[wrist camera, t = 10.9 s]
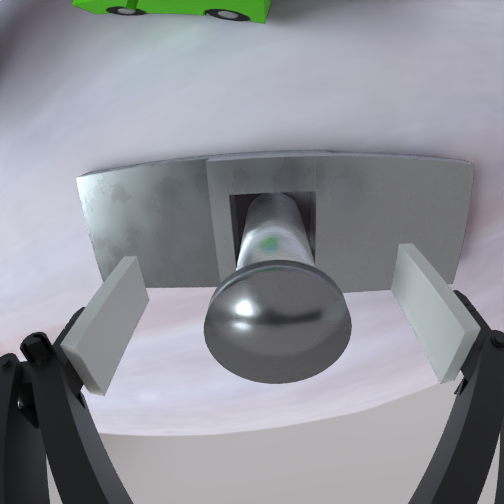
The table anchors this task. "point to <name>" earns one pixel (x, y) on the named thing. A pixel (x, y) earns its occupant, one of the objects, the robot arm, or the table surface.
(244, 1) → the toy car
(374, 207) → the plate with square hole
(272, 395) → the table surface
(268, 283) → the pin
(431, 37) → the table surface
